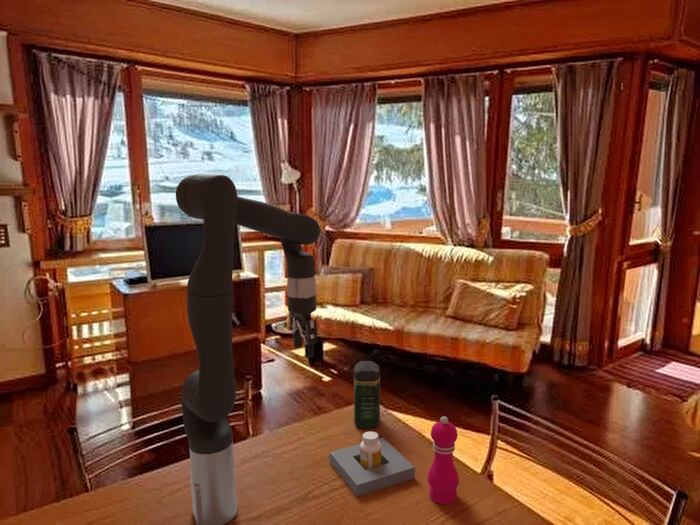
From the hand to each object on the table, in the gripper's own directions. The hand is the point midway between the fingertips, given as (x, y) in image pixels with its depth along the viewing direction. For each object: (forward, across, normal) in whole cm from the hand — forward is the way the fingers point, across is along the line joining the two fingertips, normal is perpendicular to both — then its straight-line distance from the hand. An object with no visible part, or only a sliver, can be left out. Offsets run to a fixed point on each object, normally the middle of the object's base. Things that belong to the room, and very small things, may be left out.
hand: (303, 352), depth 135 cm
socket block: (+28, +17, +11) cm, 35 cm away
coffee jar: (+28, -6, +22) cm, 36 cm away
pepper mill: (+28, +34, +21) cm, 49 cm away
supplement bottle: (+28, +17, +11) cm, 35 cm away
